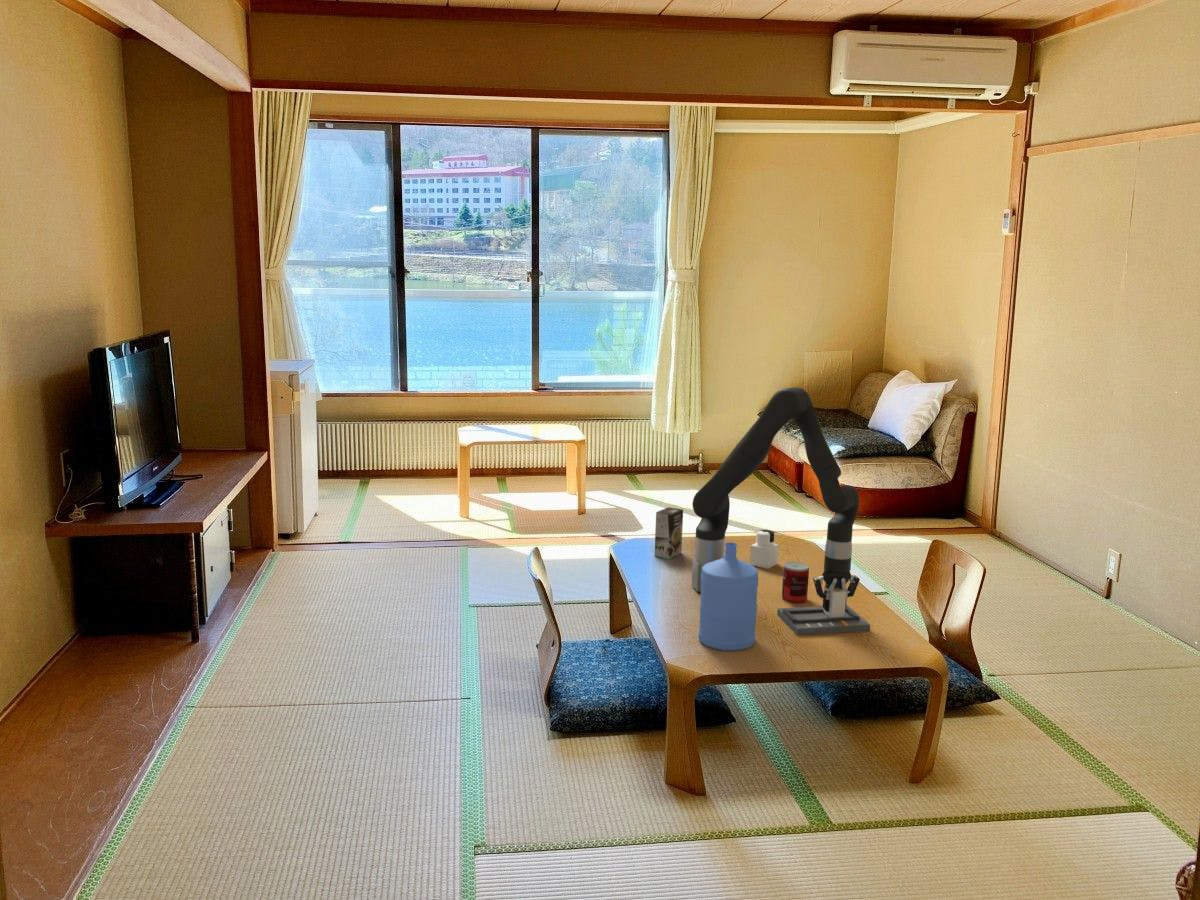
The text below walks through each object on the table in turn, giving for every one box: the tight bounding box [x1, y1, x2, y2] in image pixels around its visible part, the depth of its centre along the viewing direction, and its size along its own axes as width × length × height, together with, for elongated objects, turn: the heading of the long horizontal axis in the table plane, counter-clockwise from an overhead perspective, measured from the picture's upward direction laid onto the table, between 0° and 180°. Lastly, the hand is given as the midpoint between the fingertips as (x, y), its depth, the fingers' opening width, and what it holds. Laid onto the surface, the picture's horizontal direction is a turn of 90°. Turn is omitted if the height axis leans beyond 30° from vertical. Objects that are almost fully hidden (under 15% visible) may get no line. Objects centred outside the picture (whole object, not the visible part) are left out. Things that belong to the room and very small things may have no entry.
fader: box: [823, 588, 847, 618], centre depth 294 cm, size 4×6×8 cm, turn 10°
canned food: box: [781, 561, 810, 604], centre depth 313 cm, size 8×8×11 cm
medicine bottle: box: [749, 529, 779, 570], centre depth 345 cm, size 7×7×12 cm
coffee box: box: [654, 506, 684, 560], centre depth 354 cm, size 9×6×16 cm
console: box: [776, 604, 871, 636], centre depth 294 cm, size 22×16×3 cm
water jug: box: [698, 542, 759, 652], centre depth 277 cm, size 16×16×28 cm
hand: (834, 610), depth 294 cm, fingers closed on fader, 4 cm apart
